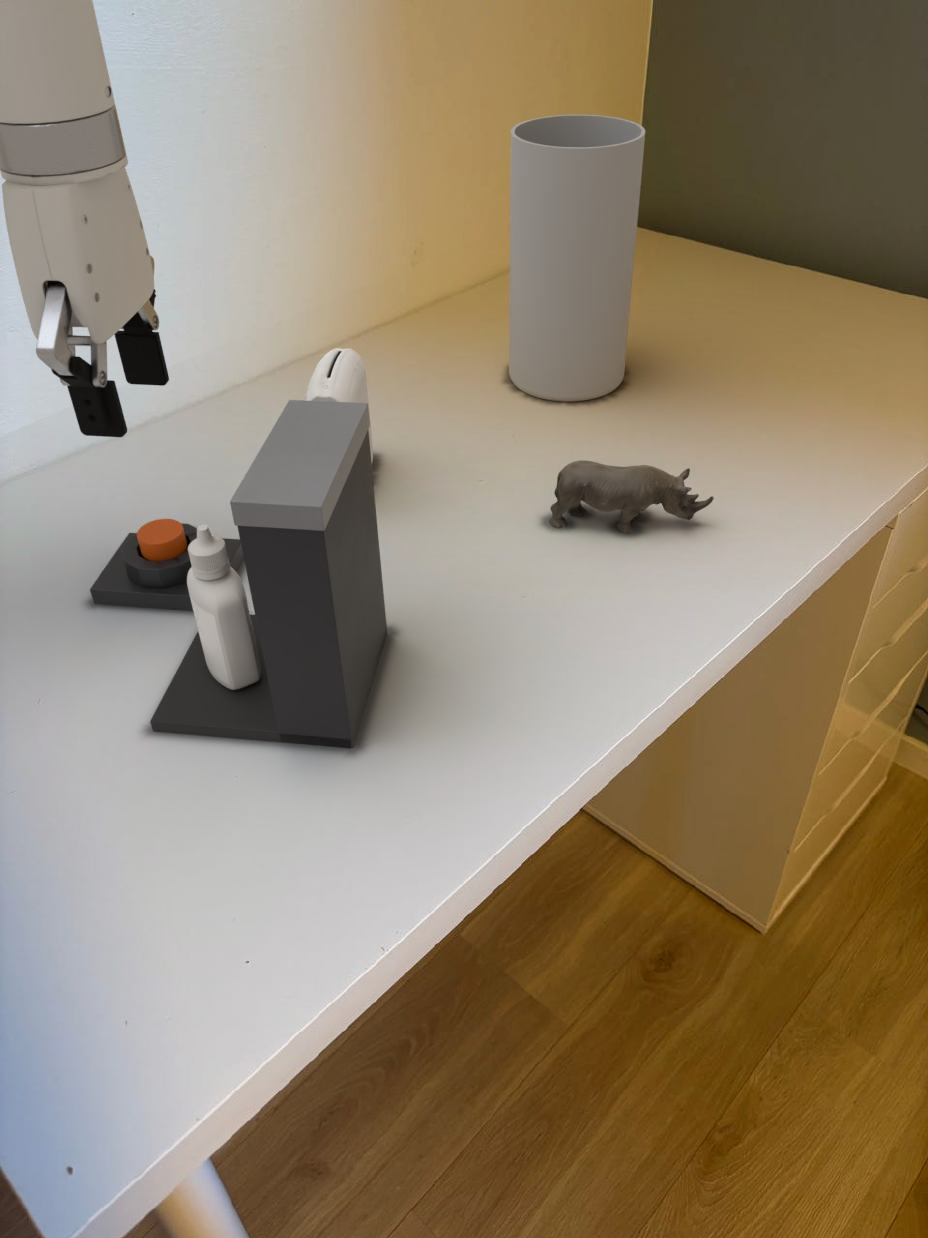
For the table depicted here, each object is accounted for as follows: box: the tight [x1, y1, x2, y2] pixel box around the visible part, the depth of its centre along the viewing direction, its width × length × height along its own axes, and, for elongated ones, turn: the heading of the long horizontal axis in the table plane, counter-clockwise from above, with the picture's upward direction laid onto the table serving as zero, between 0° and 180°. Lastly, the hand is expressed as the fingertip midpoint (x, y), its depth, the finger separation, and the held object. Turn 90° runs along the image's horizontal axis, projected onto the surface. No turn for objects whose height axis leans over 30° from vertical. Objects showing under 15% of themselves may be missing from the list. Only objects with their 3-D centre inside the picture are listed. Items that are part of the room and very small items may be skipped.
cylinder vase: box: [508, 114, 646, 403], centre depth 101 cm, size 12×12×25 cm
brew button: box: [136, 518, 187, 561], centre depth 79 cm, size 4×4×2 cm
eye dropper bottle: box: [187, 524, 261, 690], centre depth 68 cm, size 4×6×12 cm
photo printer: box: [305, 347, 374, 464], centre depth 89 cm, size 10×4×12 cm, turn 175°
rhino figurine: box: [548, 459, 715, 535], centre depth 85 cm, size 4×14×6 cm, turn 82°
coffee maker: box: [149, 399, 388, 749], centre depth 66 cm, size 14×12×19 cm
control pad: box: [89, 522, 244, 612], centre depth 81 cm, size 10×8×4 cm
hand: (127, 406), depth 72 cm, fingers open, 7 cm apart
